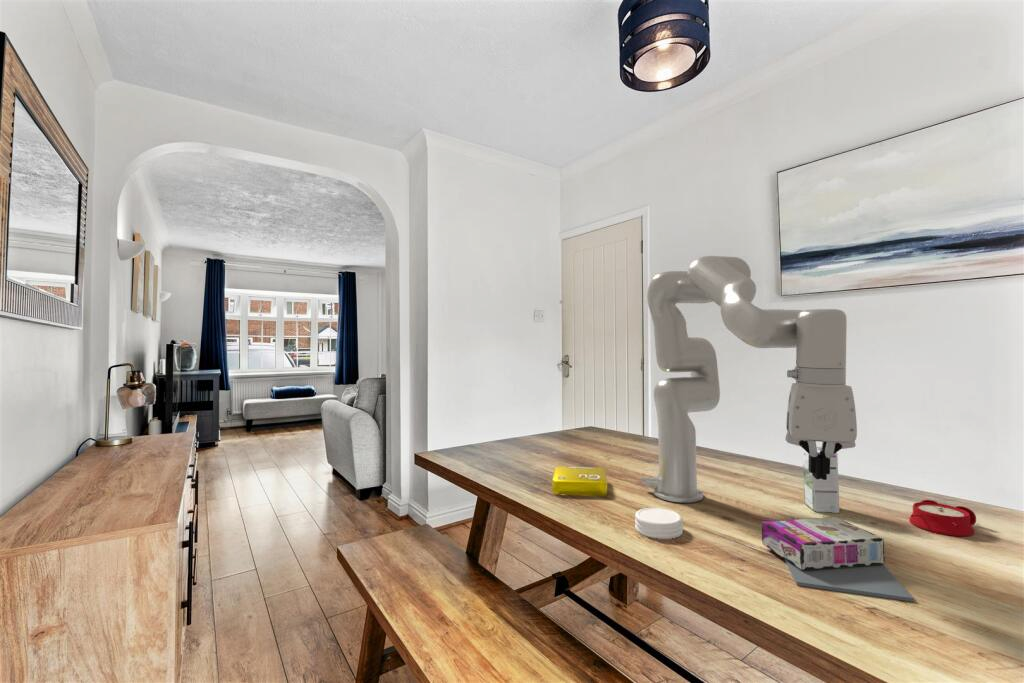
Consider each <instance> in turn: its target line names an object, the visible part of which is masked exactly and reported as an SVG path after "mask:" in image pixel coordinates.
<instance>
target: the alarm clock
mask: <svg viewBox="0 0 1024 683" xmlns="http://www.w3.org/2000/svg"><path fill="white" fill-rule="evenodd" d="M976 522H977V516H976V514H975V512H974V511H973V510H972V509H970V508H968V507H966V506H962V505H959V506H958V505H957V506H952V505H948V504H944V503H939V502H937V501H935V500H932V499H923V500H921V501H918V502H914V503H913V505H912V513H911V514H910V517H909V523H911V525H913V526H916V527H917V528H919V529H921V530H926V531H928V532H931V534H934V533H936V534H935V535H939V534H941V535H946V536H947V535H948V536H955V537H971V536H973V535H975V529H974V528H973V526H974V525H975V524H976Z"/></svg>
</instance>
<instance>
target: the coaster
mask: <svg viewBox="0 0 1024 683" xmlns="http://www.w3.org/2000/svg"><path fill="white" fill-rule="evenodd" d="M634 518H635V519H634V522H635V527H634V528H635V530H636V531H637V532H638V533H639V534H641V535H643V536H644V537H648V538H651V539H656V538H657V540H672V538H673V539H676V537H677V538H679V537H681V536H682V534H683V532H684V530H683V526H684V525H683V521H684V520H683V516H681V515H680V514H679V513H678V512H676V511H673V510H671V509H668V508H662V507H645V508H641V509H639V510H637V511H636V512H635V515H634Z"/></svg>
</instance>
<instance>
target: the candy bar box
mask: <svg viewBox="0 0 1024 683" xmlns="http://www.w3.org/2000/svg"><path fill="white" fill-rule="evenodd" d="M761 543H762V545H763V546H764V547H766V548H768V550H771V551H772V552H773V553H775V554H777V555H778V556H779V557H781V558H783V559H784V560H785V559H786V560H787V561H789V562H790V563H792V564H793V565H795V566H796V567H798V568H799V569H801V570H811V569H824V568H839V567H853V566H868V565H881V564H883V565H885V563H886V562H885V561H886V556H885V539H884V538H883V537H881V536H879V535H878V534H877V535H876V533H875V534H874V533H873V532H870V531H868V530H866V529H863V528H861V527H859V526H857V525H854V524H852V523H850V522H847V521H845V520H843V519H841V518H839V517H837V516H832V517H817V518H816V517H815V518H800V519H797V518H796V519H783V520H767V521H764V520H762V521H761Z"/></svg>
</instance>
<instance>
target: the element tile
mask: <svg viewBox="0 0 1024 683" xmlns="http://www.w3.org/2000/svg"><path fill="white" fill-rule="evenodd" d="M607 477H608V476H607V471H606V469H605V468H603V467H592V466H591V467H590V466H587V467H585V466H557V467H555V468H554V472H553V476H552V479H551V481H552V482H551V483H552V485H551V486H552V487H551V489H552V490H551V492H553V493H554V494H553V493H552V494H553V495H555V494H565V495H564V496H568V495H582V496H581V497H595V496H603V497H607V495H608V479H607ZM583 495H585V496H583ZM586 495H587V496H586Z"/></svg>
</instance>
